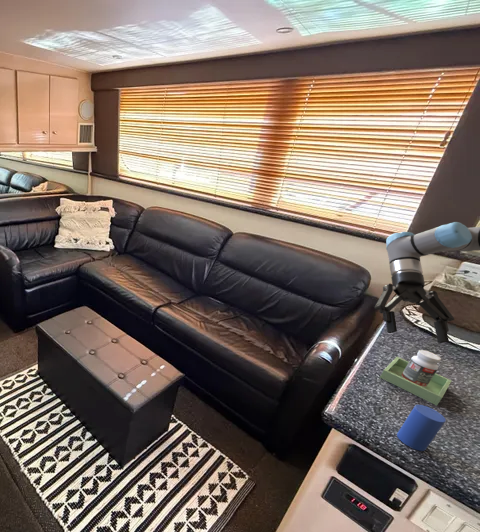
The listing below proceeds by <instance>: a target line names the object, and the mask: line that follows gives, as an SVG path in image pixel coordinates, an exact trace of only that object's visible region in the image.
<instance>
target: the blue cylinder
mask: <svg viewBox="0 0 480 532" xmlns="http://www.w3.org/2000/svg"><path fill="white" fill-rule="evenodd" d="M446 422H447V420H446V417H444V415H443V414H441V413H440V412H439V411H437V410H435V409H433V408H432V407H430V406H426V405H425V404H424V405H423V404H415V405H414V406H413V409H412V410H411V411H410V413H409V415H408V416H407V417H406V418H405V420H404V422H403V423H402V425H401V426H400V428H399V430H398V431H397V433H396V436H397V439H399V440H400V441H401V442H402V443H403V444H404V445H406V446H407V447H409V448H411V449H413V450H415V451H419V452H425V451H426V450H427V448H428V447H429V446H430V444H431V443H432V441H433V440H434V439H435V437H436V436H437V434H438V433H439V432H440V430H441V429H442V427H443V426H444V424H445V423H446Z"/></svg>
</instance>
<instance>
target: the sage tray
mask: <svg viewBox="0 0 480 532" xmlns="http://www.w3.org/2000/svg"><path fill="white" fill-rule="evenodd" d="M408 363H409V361H408V360H406V359H404V358H401V357H400V356H396V357H395V358H394V359H393V360H392V361H391V362H390V363H389V364H388V365H387V366H386V367H385V368H384V369H383V370H382V372H381V374H380V376H379V378H380V379H382V380H384V381H386V382H388V383H390V384H392V385H394V386H396V387H398V388H400V389H402V390H403V391H406V392H409V394H412V395H415V396H416V397H418V398H420V399H422V400H425V401H426V402H428V403H430V404H433V405H434V406H438V405H439V404H440V402H441V401H442V399H443V397H444V396H445V394H446V393H447V390H448V388H449V387H450V385H451V383H452V381H453V380H452V379H450V378H447V377H445V376H442V375H440V374H438V373H437V372H436V373H435V374H434V376H433V377H432V379H431V380H430V382H429V384H428V385H427V386H426V387H421V386H419V385H417V384H415V383H413V382H411V381H409V380H406V379H404V378H402V376H401V375H402V373H403V371H404V370H405V368H406V366H407V365H408Z"/></svg>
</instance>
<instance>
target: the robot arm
mask: <svg viewBox="0 0 480 532" xmlns="http://www.w3.org/2000/svg"><path fill="white" fill-rule="evenodd" d="M385 241H386V248H385V249H386V252H387V256H388V257H387V258H388V264H389V270H390V276H391V277H390V278H391V283H388V284H385V285H383V286H382V293H381V294H380V296H379V298H378V299H377V302H376V303H375V306H374V310H377V311H379V313H380V314H382V319H383V322H385V324H386V329H387V330H386V331H387V334H393V333H396V332H398V327H397V321H396V315H395V314H396V313H395V311H393V309H394V308H395V307H396V306H397V305H398V304H399V303H400V302H401V301H402V302H408V303H411V304H412V303H413V304H416V306H420V307H421V308H422V309H423V310H424V311H425V312H426V314H428V315H429V316H430V317H431V318H432V319H433V320H434V322H433V325H434V330H435V331H434V332H435V335H436V340H437V341H436V342H437V343H438V344H443V343H447V342H450V340H449V335H448V333H449V330H450V329H449V325H448V323H449V322H452V321H455V317H454V316H453V315H452V313H451V312H450V311H449V309H448V308H447V306H445V303H443V302H442V300H441V299H440V297H439V295H438V292H437V291H436V290H432V291H426V289H425V285H426V283H425V277H424V274H423V273H424V272H423V266H422V262H421V257H425V256H429V255H432V254H436V253H441V252H474V251H475V252H476V251H480V226H475V227H467V225H465V224H463V223H462V222H458V221H453V222H450V223H446V224H442V225H440V226H437V227H434V228H431V229H427V230H425V231H422V232H419V233H416V234H415V233H413V232H411V231H401V232H394V233H392V234H390V235H388V236H387V238H386V239H385ZM393 292H394V293H395V294H396V295H395V296H394V297H392V299H391V300H390V301H389V299H390V296H391V295H392V293H393ZM388 301H389V302H388Z"/></svg>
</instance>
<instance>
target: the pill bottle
mask: <svg viewBox="0 0 480 532" xmlns="http://www.w3.org/2000/svg"><path fill="white" fill-rule="evenodd" d="M416 354H417V355H413V356H412V357H411V358H410V360H409V361H408V362H409V363H408V365H407V366H406V368H405V370H404V371H403V373H402V375H401V376H402V378H404V379H406V380H409V381H411V382H413V383H415V384H417V385H419V386H421V387H426V386H427V385H428V384H429V382H430V380H431V379H432V377H433V376H434V374H435V373H436V374H437V371H438V370H439V365H438V364H439V363H441V361H442V358H441V356H439V355H437V354H436V353H433V352H430V351H428V350H423V349H419V350H418V352H417V353H416Z"/></svg>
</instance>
